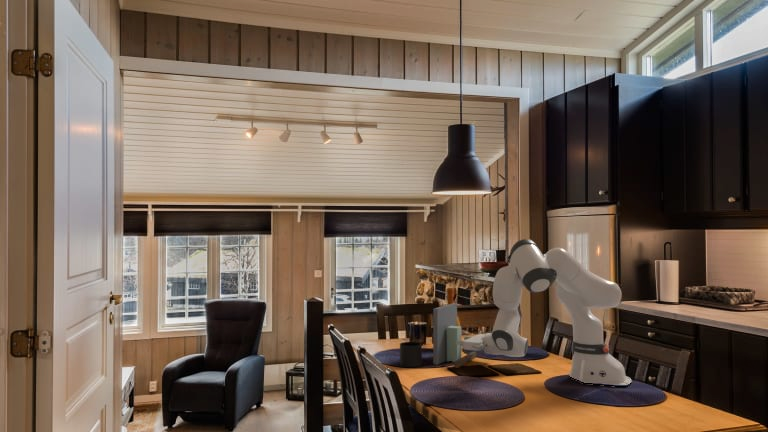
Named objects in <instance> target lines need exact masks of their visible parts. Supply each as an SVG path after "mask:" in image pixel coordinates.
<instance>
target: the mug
mask: <svg viewBox="0 0 768 432" xmlns="http://www.w3.org/2000/svg"><path fill="white" fill-rule="evenodd" d="M422 345H423V344H422V343H420V342H417V341H403V342H400V343H399V365H400V366H401V367H404V368H418V367H419V368H420V367H421V366H422V360H423V359H422V357H423V356H422V355H423V354H422V351H423V349H422V348H423V347H422Z"/></svg>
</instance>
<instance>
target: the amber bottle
mask: <svg viewBox="0 0 768 432" xmlns="http://www.w3.org/2000/svg"><path fill="white" fill-rule="evenodd" d="M454 291H455V290H454V288H453V287H447V289H446V292H447V294H446V297H447V304H446V305H449V304H452V303H454V298H455V292H454ZM457 326H460V327H461V321H460V319H459V316H458V312H457Z"/></svg>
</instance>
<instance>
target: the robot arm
mask: <svg viewBox="0 0 768 432" xmlns="http://www.w3.org/2000/svg"><path fill="white" fill-rule="evenodd" d="M506 259H507V262H508V265H507V266H503V267H501V268H499V270H497V272H496V274H495V277H494V280H493V284H492V299H493V304H494V305H495V306H496V307H497V308H498V311H497V314H496V318H495V321H494V324H493V328H492V331H491V332H486V333H478V334H476V335H474V336H473V335H471V336H464V337H463V340H462V339H461V340H456V344H457V345H461V349H462V350H465V351H474V352H477V351H481V350H482V351H483V352H484V353H485V354H488V355H496V356H498V355H499V356H500V355H502V356H505V357H512V358H513V357H515V358H522V357H525V356H526V355H527V353H528V348H529V340H528V338H526V337H523V336H521V335H520V334H519V333H518V329H519V325H520V322H521V320H522V318H523V315H522V311H521V309H520V307H519V306H520V305H521V304H520V303H521V301H522V297H523V287H524V288H525V289H526V290H527V291H528V292H529V293H534V294H535V293H537V294H538V293H540V294H541V293H543V292H545V291H547V290H548V289H549V288H550V287H551V286H552V285H553V284H554V282H557V284H556V286H555V294H556V297H557V299H558V300H559V302H560V303H561V304H563V306H564V307H565V308H566V310H567V312H568V314H569V316H570V319H571V322H572V334H573V335H572V336H573V337H572V338H573V339H572V341H571V353H572V362H571V363H572V364H571V368H570V372H569V376H570V377H572V378H574V379H577V380H579V381H581V382H584V383H602V384H613V385H628V384H630V383H631V382H632V381H633V380H632V379H631V377H629V376H627V375H626V371H625V367H624V365H623V364H622V362H620V361H619V360H618V359H617V358H615V357H614V356H613V355H611V354H610V345H609V344H607V343H605V342H604V324H603V322H602V321H601V319H600V318H599V317H597V316H595V315H594V314H593V312H592V311H591V310H590V308H593V309H594V308H596V309H602V310H603V309H613V308H616V307H618V305H619V304H620V303H621V301H622V297H623V296H622V295H623V294H622V290H621V287H620V286H619V285H618V283H616V282H615V281H611V280H607V279H605V278H603V277H601V276H599V275H598V274H595V273H593V272H591V271H589V270H588V269H586V268H585V267H584V266H583V264H581V262H580V261H578V259H576V257H575V256H574V255H572V254H571V253H570V252H568V251H567V250H565V248H561V247H554V248H551V249H548V251H547V252H546V253H544V254H543V253H542V251H541V250H540V248H539V246H538V244H537V243H536V242H535V241H533V240H532V239H529V238H523V239H520V240H518V241H516V242H515V243H514V244H513V245H512V247H511V248H510V252H509V255H508V256H507V258H506ZM570 377H569V378H570ZM572 378H571V379H572ZM574 379H573V380H574ZM577 380H576V381H577ZM579 381H578V382H579ZM581 382H580V383H581ZM632 383H633V382H632Z"/></svg>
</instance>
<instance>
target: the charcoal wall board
mask: <svg viewBox="0 0 768 432" xmlns="http://www.w3.org/2000/svg"><path fill="white" fill-rule="evenodd" d="M432 310H433V312H432V313H433V314H432V317H433V319H432V321H433V322H432V325H433V327H432V328H433V330H432V331H433V332H432V333H433V335H432V337H433V338H432V339H433V340H432V342H433V344H432V345H433V348H432V352H433V353H432V354H433V356H432V357H433V362H432V363H433V364H432V365H434V364H435V366H436V365H437V366H438V365H440V364H442V363H444V362H446V361H447V327H449V326H457V316H458V314H457V313H458V303H454V302H453V303H452V304H449V305H447V304H446V305H442V306H439V307H435V308H433V309H432ZM476 358H477V351H472V352H469V353H468V354H466V355H464V356H463V357H462V356H461V358H460V359H458V360H456V361H455V362H454V368H461V367H462V366H464V365H466V364H467V363H469V362H470V361H473V360H475V359H476ZM445 360H446V361H445Z"/></svg>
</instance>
